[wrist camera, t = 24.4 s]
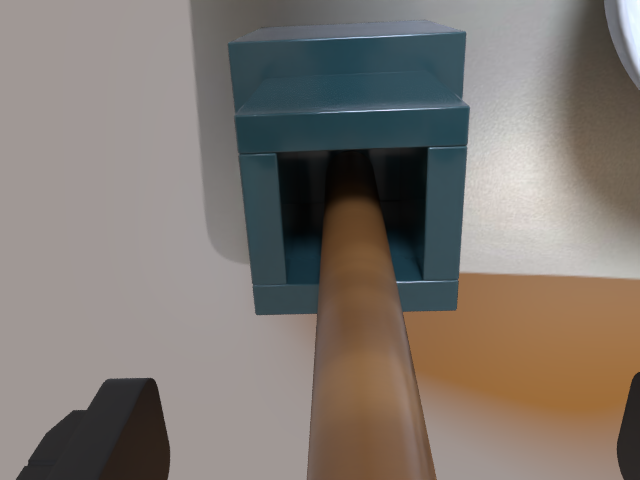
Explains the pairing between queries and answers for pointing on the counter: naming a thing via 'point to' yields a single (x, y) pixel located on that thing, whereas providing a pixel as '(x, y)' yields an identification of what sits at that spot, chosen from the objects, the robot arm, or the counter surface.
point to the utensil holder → (351, 135)
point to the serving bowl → (626, 33)
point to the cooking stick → (362, 344)
